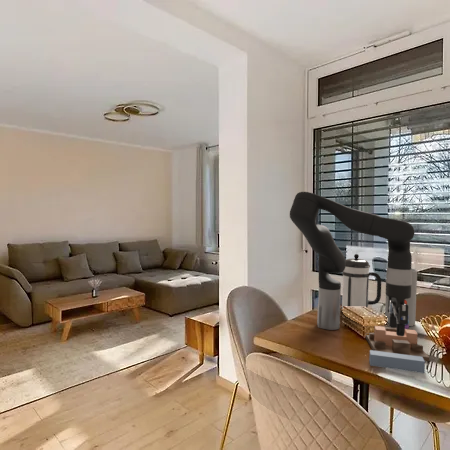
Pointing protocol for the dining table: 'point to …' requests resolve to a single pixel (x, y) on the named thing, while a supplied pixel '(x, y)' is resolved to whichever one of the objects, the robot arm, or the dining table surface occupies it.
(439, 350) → the dining table surface
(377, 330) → the pink u-shaped block
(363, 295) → the coffee press
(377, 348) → the jig
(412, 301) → the cylinder vase
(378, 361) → the blue-grey rectangular bar
